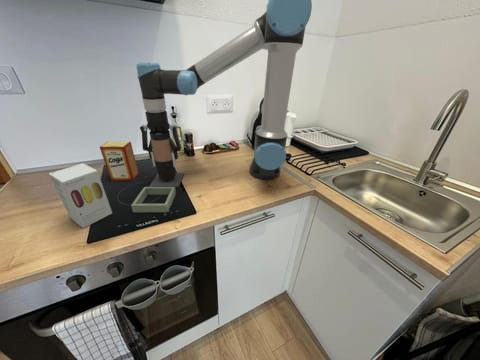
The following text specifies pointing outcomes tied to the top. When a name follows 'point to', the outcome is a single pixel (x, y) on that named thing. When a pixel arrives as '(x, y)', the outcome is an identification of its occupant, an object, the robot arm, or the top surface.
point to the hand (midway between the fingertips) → (165, 165)
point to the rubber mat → (167, 181)
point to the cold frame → (140, 207)
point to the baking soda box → (119, 160)
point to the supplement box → (81, 194)
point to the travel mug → (163, 155)
